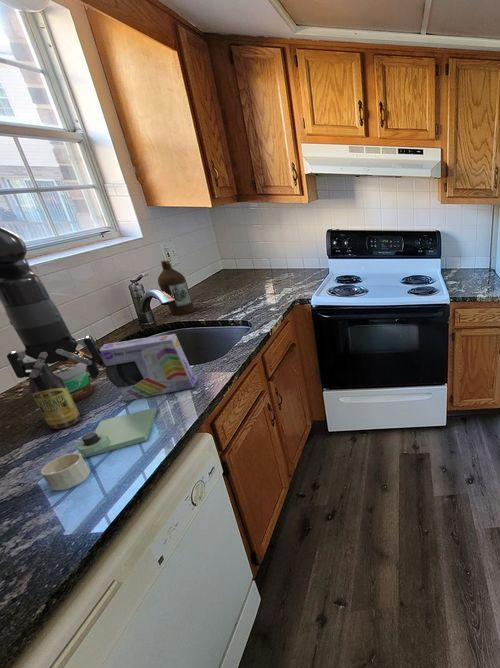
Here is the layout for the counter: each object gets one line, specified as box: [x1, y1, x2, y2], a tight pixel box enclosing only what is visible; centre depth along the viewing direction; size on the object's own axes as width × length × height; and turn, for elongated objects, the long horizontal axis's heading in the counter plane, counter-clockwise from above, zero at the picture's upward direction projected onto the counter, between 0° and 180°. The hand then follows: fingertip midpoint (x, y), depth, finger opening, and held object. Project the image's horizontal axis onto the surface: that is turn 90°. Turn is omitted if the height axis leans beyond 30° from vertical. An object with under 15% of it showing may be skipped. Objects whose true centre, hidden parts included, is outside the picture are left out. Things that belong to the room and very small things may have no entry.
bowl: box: [39, 452, 92, 491], centre depth 80 cm, size 6×6×5 cm
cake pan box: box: [99, 333, 197, 402], centre depth 109 cm, size 19×5×18 cm, turn 109°
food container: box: [52, 361, 94, 403], centre depth 109 cm, size 12×6×10 cm, turn 159°
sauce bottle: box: [23, 357, 81, 430], centre depth 95 cm, size 7×6×20 cm
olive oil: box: [157, 259, 195, 316], centre depth 172 cm, size 11×11×25 cm
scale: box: [76, 407, 157, 458], centre depth 94 cm, size 13×15×3 cm
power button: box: [81, 431, 100, 446], centre depth 88 cm, size 3×3×2 cm
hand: (71, 383), depth 87 cm, fingers open, 8 cm apart
